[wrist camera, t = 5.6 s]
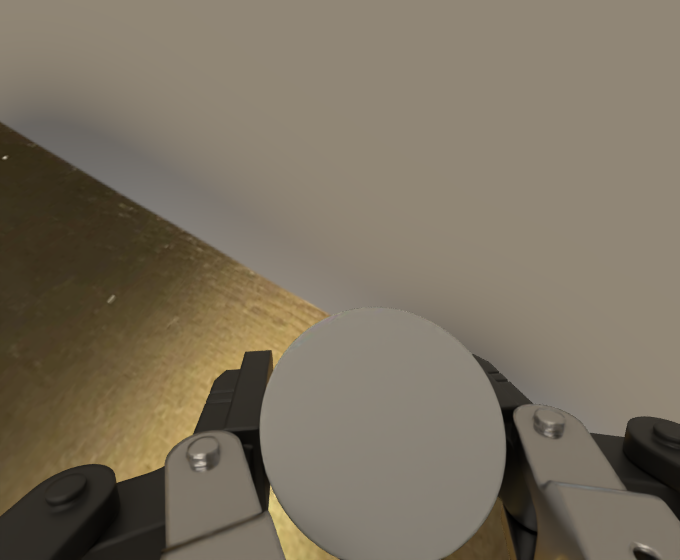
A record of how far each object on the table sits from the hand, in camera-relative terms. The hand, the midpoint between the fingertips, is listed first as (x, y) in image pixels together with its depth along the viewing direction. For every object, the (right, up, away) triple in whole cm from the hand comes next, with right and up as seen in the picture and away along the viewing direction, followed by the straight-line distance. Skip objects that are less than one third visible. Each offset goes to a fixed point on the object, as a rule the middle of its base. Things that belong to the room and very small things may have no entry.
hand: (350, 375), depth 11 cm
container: (-1, -7, +9) cm, 11 cm away
